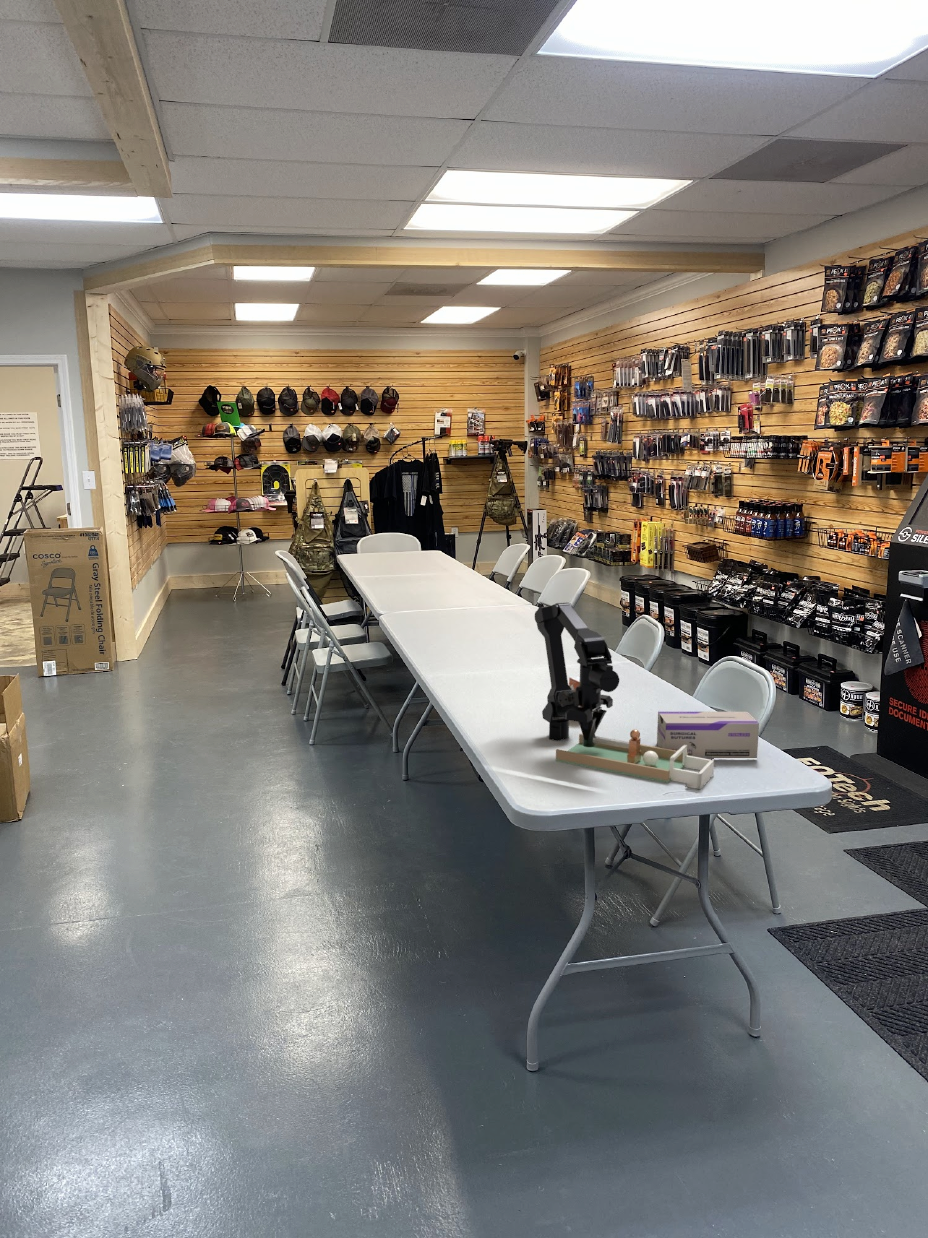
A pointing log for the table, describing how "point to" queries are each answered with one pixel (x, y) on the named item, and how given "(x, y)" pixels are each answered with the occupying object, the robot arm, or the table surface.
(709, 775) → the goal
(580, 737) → the pitch
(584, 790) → the table surface
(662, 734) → the surgical sutures box
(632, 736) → the rod
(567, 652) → the table surface
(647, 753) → the ball
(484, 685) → the table surface
